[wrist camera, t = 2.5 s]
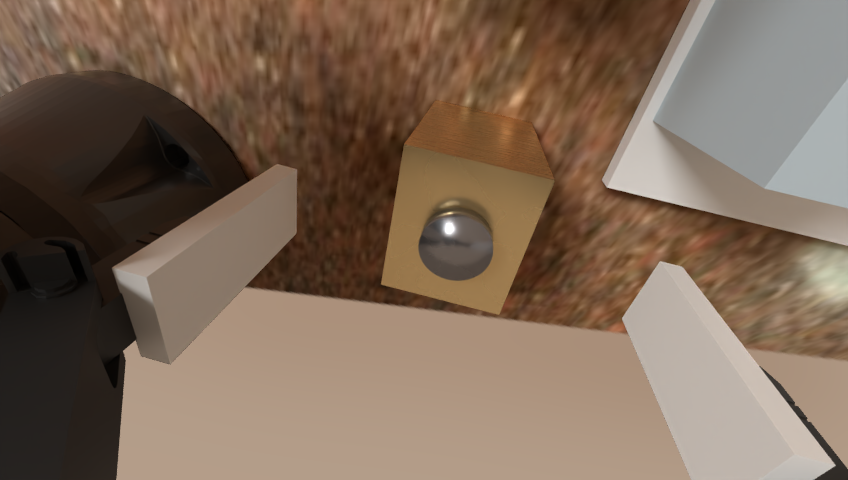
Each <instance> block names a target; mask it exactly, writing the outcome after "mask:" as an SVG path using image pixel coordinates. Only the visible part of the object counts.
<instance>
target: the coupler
mask: <svg viewBox="0 0 848 480" xmlns="http://www.w3.org/2000/svg"><path fill="white" fill-rule="evenodd" d="M554 182H555V180H554V177H553V175H552V172H551V170H550V167H549V165H548V162H547V160H546V157H545V155H544V152H543V150H542V147H541V145H540V142H539V140H538V137H537V135H536V132H535V130H534V127H533V125H532V123H531V122H527V121H523V120H519V119H514V118H510V117H506V116H502V115H498V114H493V113H489V112H485V111H481V110H477V109H472V108H468V107H464V106H460V105H455V104H451V103H447V102H443V101H439V100H435V102H434V103H433V105H432V106H431V107H430V109H429V110H428V112H427V113H426V114H425V116H424V117H423V119H422V120H421V121H420V123H419V124H418V126H417V127H416V128H415V130H414V131H413V132H412V134H411V135H410V137H409V138H408V139H407V141H406V142H405V144H404V148H403V154H402V160H401V166H400V172H399V178H398V184H397V190H396V196H395V202H394V208H393V214H392V220H391V226H390V233H389V239H388V245H387V251H386V257H385V263H384V269H383V275H382V281H381V285H385V286H389V287H392V288H396V289H400V290H404V291H408V292H412V293H416V294H420V295H424V296H428V297H431V298H435V299H439V300H443V301H447V302H451V303H455V304H459V305H463V306H466V307H470V308H474V309H478V310H482V311H486V312H490V313H494V314H498V315H499V314H500V312H501V309H502V307H503V304H504V302H505V300H506V297H507V295H508V292H509V290H510V287H511V285H512V283H513V280H514V278H515V275H516V273H517V271H518V268H519V266H520V263H521V261H522V259H523V256H524V254H525V251H526V249H527V247H528V244H529V242H530V239H531V237H532V235H533V232H534V230H535V227H536V225H537V223H538V220H539V218H540V215H541V213H542V211H543V208H544V206H545V203H546V201H547V199H548V196H549V194H550V191H551V189H552V186H553V184H554Z"/></svg>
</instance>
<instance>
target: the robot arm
mask: <svg viewBox="0 0 848 480" xmlns="http://www.w3.org/2000/svg"><path fill="white" fill-rule="evenodd" d="M296 233H297V169H294V168H291V167H287V166H283V165H279V164H276V165H275V166H273V167H271V168H270V169H268V170H267V171H265V172H263V173H262V174H260V175H259V176H257V177H255V178H254V179H252V180H251V181H249V182H248V181H247V179H246V177H245V175H244V173H243V171H242V169H241V167H240V165H239V164H238V162H237V161H236V159H235V157H234V156H233V154H232V153H231V152H230V150H229V149H228V147H227V146H226V145H225V143H224V142H223V141H222V140H221V138H220V137H219V136H218V135H217V134H216V133H215V132H214V130H213V129H212V128H211V127H210V126H209V125H208V124H207V123H206V122H205V121H204V120H203V119H201V118H200V117H199V116H198V115H197V114H196V113H195V112H194V111H192V110H191V109H190V108H189V107H187V106H186V105H185V104H183V103H182V102H181V101H179V100H178V99H176V98H175V97H173V96H172V95H170V94H169V93H167V92H165V91H163V90H162V89H160V88H158V87H156V86H154V85H152V84H150V83H148V82H145V81H143V80H141V79H138V78H135V77H132V76H129V75H125V74H122V73H117V72H111V71H98V70H94V71H83V72H74V73H66V74H58V75H51V76H46V77H43V78H39V79H36V80H33V81H30V82H28V83H26V84H24V85H22V86H20V87H19V88H17V89H15V90H13V91H11V92H10V93H8V94H6V95H4V96H2V97H1V98H0V480H116V476H117V462H118V450H119V437H120V425H121V412H122V399H123V387H124V373H125V361H126V360H125V357H124V353H123V350H124V349H125V348H127V347H128V346H129V345H130V344H131V343H133V342H134V341H135V340H136V342H137V345H138V348H139V351H140V354H141V356H142V357H146V358H149V359H153V360H156V361H160V362H163V363H167V364H171V363H172V362H173V361H174V360H175V359H176V358H177V357H178V356H179V355H180V354H181V353H182V352H183V351H184V350H185V349H186V348H187V347H188V345H190V343H191V342H192V341H193V340H194V339H195V338H196V337H197V336H198V335H199V334H200V333H201V332H202V331H203V330H204V329H205V328H206V327H207V326H208V325H209V324H210V323H211V322H212V321H213V320H214V319H215V318H216V317H217V315H218V314H219V313H220V312H221V311H222V310H223V309H224V308H225V307H226V306H227V305H228V304H229V303H230V302H231V301H232V300H233V299H234V298H235V297H236V296H237V295H238V293H240V292H241V291H242V289H243V288H244V287H245V286H246V285H247V284H248V283H249V282H250V281H251V280H252V279H253V278H254V277H255V276H256V275H257V274H258V273H259V272H260V271H261V270H262V269H263V268H264V267H265V266H266V265H267V264H268V263H269V261H270V260H271V259H272V258H273V257H274V256H275V255H276V254H277V253H278V252H279V251H280V250H281V249H282V248H283V247H284V246H285V245H286V244H287V243H288V242H289V241H290V240H291V239H292V238H293V237H294V236H295V235H296ZM622 320H623V322H624V325H625V327H626V329H627V332H628V334H629V336H630V339H631V341H632V343H633V346H634V348H635V350H636V353H637V355H638V357H639V359H640V362H641V364H642V367H643V369H644V371H645V373H646V376H647V378H648V381H649V383H650V385H651V387H652V390H653V392H654V394H655V397H656V399H657V402H658V404H659V406H660V409H661V411H662V413H663V416H664V418H665V420H666V422H667V425H668V427H669V429H670V432H671V434H672V436H673V439H674V441H675V443H676V446H677V448H678V450H679V453H680V455H681V457H682V460H683V462H684V464H685V467H686V469H687V471H688V474H689V476H690V478H691V480H848V469H847V468H846V466H845V465H844V464H843V463H842V461H841V460H840V459H839V457H838V456H837V455H836V454H835V452H834V451H833V450H832V449H831V447H830V446H829V445H828V444H827V442H826V441H825V440H824V439H823V437H822V436H821V435H820V433H819V432H818V431H817V430H816V429H815V427H814V426H813V425H812V423H811V422H808V421H807V417H806V416H805V415H804V413H803V412H802V411H801V410H800V408H799V407H798V406H795V402H794V401H793V400H792V398H791V397H790V396H789V394H788V393H787V392H786V391H785V389H784V388H783V387H782V386H781V384H780V383H778V382H777V381H776V380H775V379H774V378H773V377H772V376H771V375H769V374H768V373H767V372H766V371H765V370H764V369H763V368H761V367H760V366H758V364H757V363H756V362H755V360H754V359H753V358H752V356H751V355H750V354H749V353H748V351H747V350H746V349H745V347H744V346H743V345H742V344H741V342H740V341H739V340H738V338H737V337H736V336H735V334H734V333H733V332H732V331H731V329H730V328H729V327H728V325H727V324H726V323H725V322H724V320H723V319H722V318H721V316H720V315H719V314H718V312H717V311H716V310H715V309H714V307H713V306H712V305H711V303H710V302H709V301H708V300H707V298H706V297H705V296H704V294H703V293H702V292H701V290H700V289H699V288H698V287H697V285H696V284H695V283H694V281H693V280H692V279H691V278H690V276H689V275H688V274H687V272H686V271H685V270H684V268H683V267H681V266H677V265H673V264H669V263H665V262H661V261H660V262H659V264H658V265H657V267H656V268H655V270H654V271H653V273H652V274H651V276H650V277H649V279H648V280H647V282H646V283H645V285H644V286H643V288H642V289H641V291H640V292H639V294H638V295H637V297H636V298H635V300H634V301H633V303H632V304H631V306H630V307H629V309H628V310H627V312H626V313H625V315H624V316H623V318H622Z"/></svg>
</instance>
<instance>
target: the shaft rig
mask: <svg viewBox="0 0 848 480" xmlns="http://www.w3.org/2000/svg"><path fill="white" fill-rule="evenodd" d="M602 181H603V183H604V184H605V186H606V187H607V188H611V189H615V190H619V191H624V192H628V193H632V194H636V195H640V196H644V197H648V198H652V199H657V200H661V201H665V202H669V203H673V204H677V205H681V206H686V207H690V208H694V209H698V210H702V211H706V212H710V213H714V214H719V215H723V216H727V217H731V218H735V219H739V220H743V221H747V222H752V223H756V224H760V225H764V226H768V227H772V228H776V229H780V230H785V231H789V232H793V233H797V234H801V235H805V236H809V237H813V238H818V239H822V240H826V241H830V242H834V243H838V244H842V245H846V246H848V0H690V1H689V3H688V5H687V7H686V9H685V12H684V14H683V16H682V18H681V20H680V22H679V24H678V26H677V28H676V30H675V32H674V34H673V36H672V38H671V40H670V42H669V44H668V46H667V48H666V50H665V52H664V54H663V56H662V58H661V60H660V63H659V65H658V67H657V69H656V71H655V73H654V75H653V77H652V79H651V81H650V83H649V85H648V87H647V89H646V91H645V93H644V95H643V97H642V99H641V101H640V103H639V105H638V107H637V109H636V111H635V113H634V116H633V118H632V120H631V122H630V124H629V126H628V128H627V130H626V132H625V134H624V136H623V138H622V140H621V142H620V144H619V146H618V148H617V150H616V152H615V154H614V156H613V158H612V160H611V162H610V164H609V167H608V169H607V171H606V173H605V175H604V177H603V179H602Z"/></svg>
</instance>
